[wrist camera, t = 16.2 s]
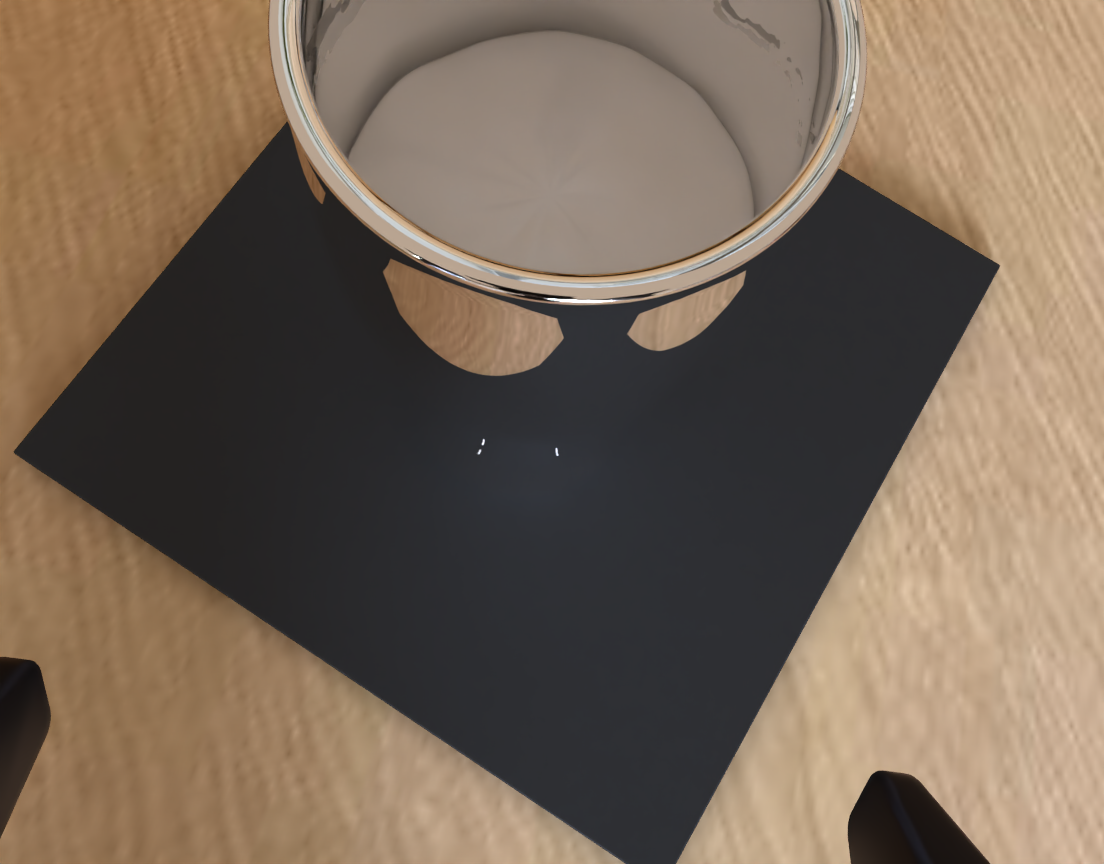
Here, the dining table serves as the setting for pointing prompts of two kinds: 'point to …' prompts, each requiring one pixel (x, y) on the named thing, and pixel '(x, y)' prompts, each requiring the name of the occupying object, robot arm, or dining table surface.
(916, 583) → the dining table surface
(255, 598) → the placemat
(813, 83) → the beer glass
